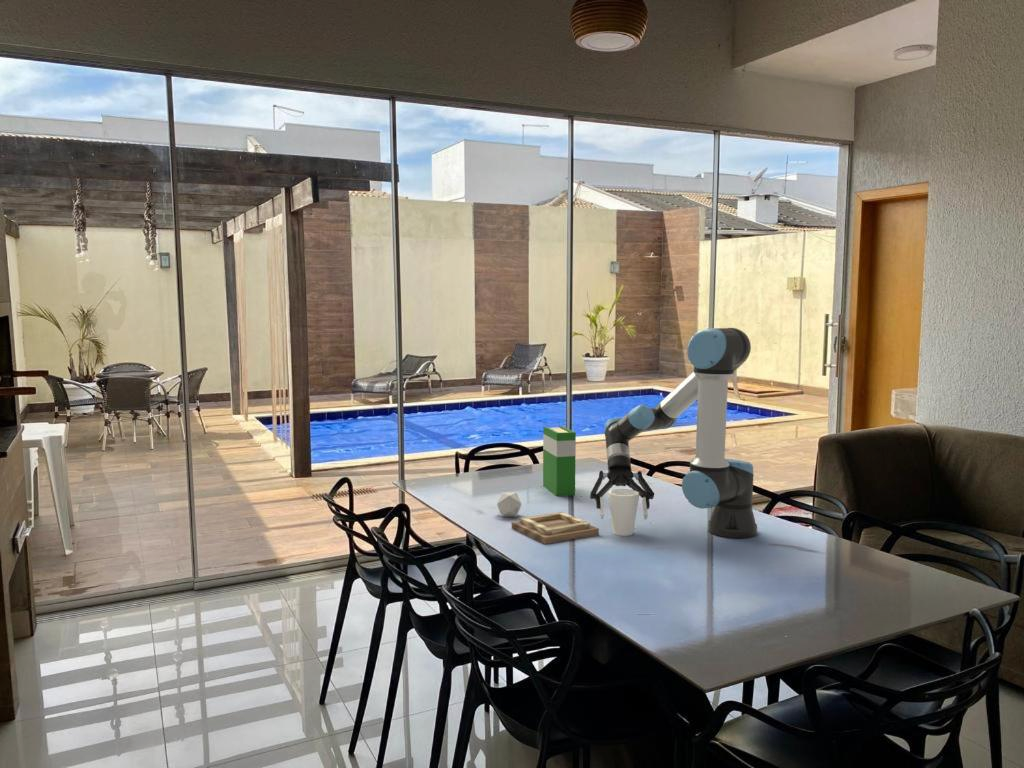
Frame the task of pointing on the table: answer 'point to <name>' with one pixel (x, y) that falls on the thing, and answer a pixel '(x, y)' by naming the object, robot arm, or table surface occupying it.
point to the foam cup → (623, 510)
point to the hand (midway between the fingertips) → (624, 517)
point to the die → (509, 504)
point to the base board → (554, 536)
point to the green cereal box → (559, 460)
